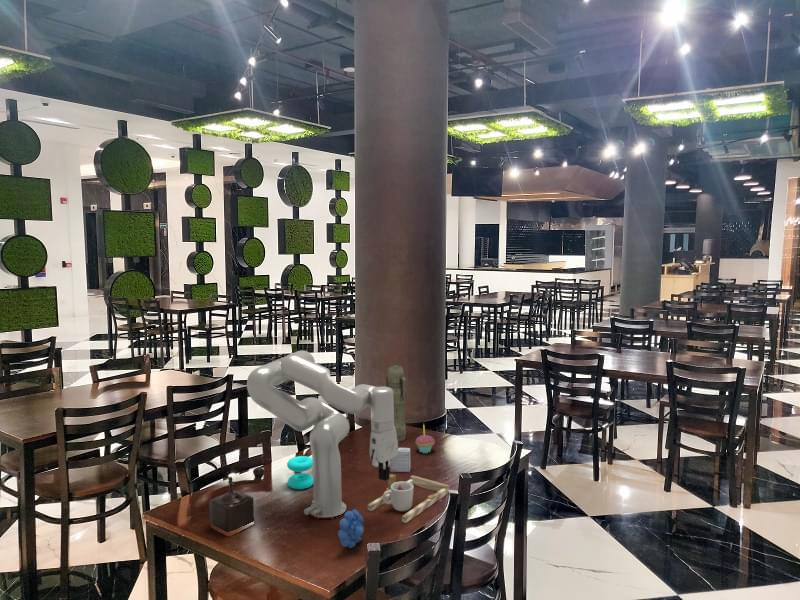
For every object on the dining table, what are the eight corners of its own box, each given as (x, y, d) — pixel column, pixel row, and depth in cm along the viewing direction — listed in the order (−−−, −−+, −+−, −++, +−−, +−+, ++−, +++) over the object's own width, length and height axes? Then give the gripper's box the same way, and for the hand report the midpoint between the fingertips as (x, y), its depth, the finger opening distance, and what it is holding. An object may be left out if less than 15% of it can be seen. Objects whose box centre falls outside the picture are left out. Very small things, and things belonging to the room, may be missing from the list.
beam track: (406, 523, 186) (406, 505, 185) (358, 507, 197) (358, 490, 197) (449, 493, 208) (449, 477, 208) (404, 480, 220) (403, 465, 219)
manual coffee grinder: (229, 538, 177) (227, 482, 176) (209, 527, 184) (206, 474, 182) (269, 519, 189) (267, 467, 188) (248, 510, 196) (247, 459, 195)
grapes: (352, 560, 164) (351, 521, 163) (333, 554, 167) (332, 515, 166) (374, 542, 174) (373, 504, 173) (356, 537, 177) (355, 500, 176)
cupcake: (413, 449, 253) (412, 423, 252) (430, 447, 256) (430, 421, 254) (419, 456, 245) (419, 428, 244) (437, 453, 247) (437, 426, 246)
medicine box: (410, 468, 232) (410, 447, 231) (409, 472, 227) (409, 451, 226) (391, 467, 232) (391, 447, 232) (390, 472, 228) (389, 451, 227)
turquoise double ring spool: (319, 457, 218) (302, 466, 209) (319, 482, 218) (303, 492, 210) (298, 453, 222) (281, 461, 213) (298, 477, 223) (282, 487, 214)
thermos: (392, 434, 274) (392, 362, 270) (412, 439, 266) (411, 365, 263) (380, 438, 267) (379, 365, 264) (400, 444, 260) (399, 368, 256)
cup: (386, 516, 191) (385, 493, 190) (380, 505, 199) (380, 483, 198) (416, 511, 194) (416, 489, 193) (410, 501, 201) (409, 480, 201)
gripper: (377, 433, 178) (379, 489, 180) (405, 420, 190) (406, 473, 192) (359, 429, 182) (360, 484, 184) (387, 417, 194) (388, 469, 196)
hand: (384, 479), depth 188 cm, fingers closed
